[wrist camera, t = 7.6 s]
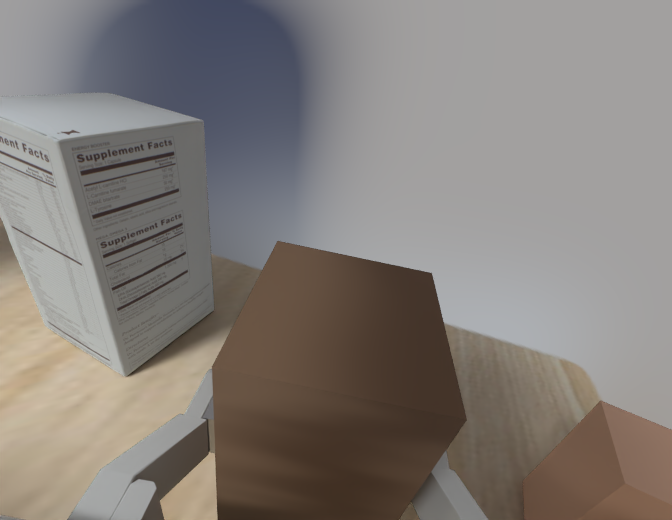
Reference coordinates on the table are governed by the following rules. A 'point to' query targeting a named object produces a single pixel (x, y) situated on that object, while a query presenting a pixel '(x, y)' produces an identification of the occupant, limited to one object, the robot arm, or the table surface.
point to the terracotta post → (604, 471)
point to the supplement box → (108, 219)
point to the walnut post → (332, 391)
